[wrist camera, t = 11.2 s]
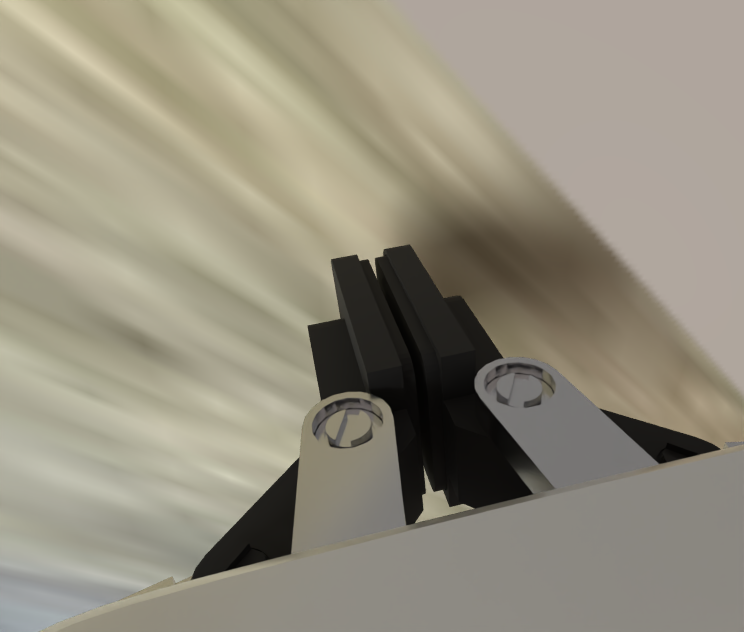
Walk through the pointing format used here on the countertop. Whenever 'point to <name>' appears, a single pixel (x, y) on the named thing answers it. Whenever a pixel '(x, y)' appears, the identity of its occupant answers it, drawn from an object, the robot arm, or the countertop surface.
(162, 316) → the countertop surface
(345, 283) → the robot arm
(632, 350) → the countertop surface
